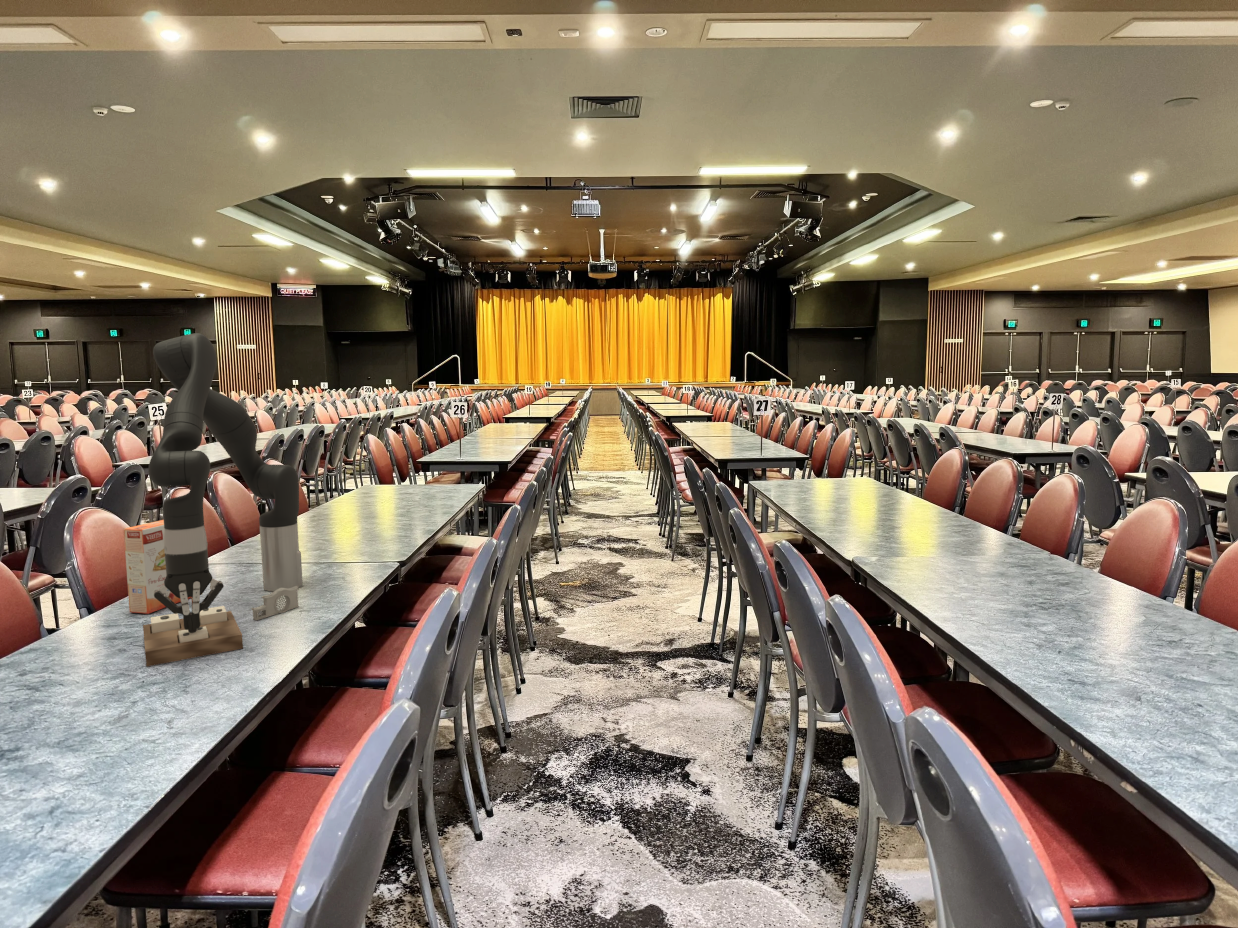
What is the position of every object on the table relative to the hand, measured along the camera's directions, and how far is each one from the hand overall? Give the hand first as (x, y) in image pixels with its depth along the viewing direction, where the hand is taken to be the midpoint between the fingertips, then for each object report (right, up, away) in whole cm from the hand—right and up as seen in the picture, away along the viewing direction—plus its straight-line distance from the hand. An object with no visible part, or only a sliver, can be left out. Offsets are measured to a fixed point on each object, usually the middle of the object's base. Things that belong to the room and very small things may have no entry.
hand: (192, 630), depth 151 cm
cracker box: (-26, -1, +31) cm, 40 cm away
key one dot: (-9, -2, +6) cm, 11 cm away
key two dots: (-2, -2, +11) cm, 11 cm away
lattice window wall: (+6, -2, +24) cm, 25 cm away
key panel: (-3, -4, +5) cm, 7 cm away
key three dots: (0, -4, +1) cm, 4 cm away
